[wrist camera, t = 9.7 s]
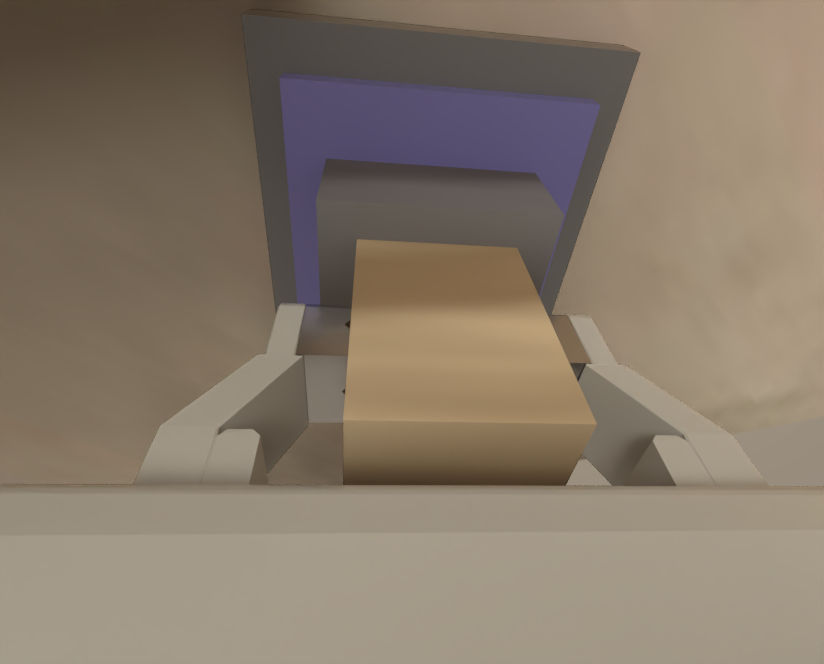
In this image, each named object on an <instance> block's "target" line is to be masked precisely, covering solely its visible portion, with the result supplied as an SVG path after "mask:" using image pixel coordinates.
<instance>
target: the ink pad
mask: <svg viewBox="0 0 824 664" xmlns="http://www.w3.org/2000/svg"><path fill="white" fill-rule="evenodd" d="M241 18H242V27H243V36H244V44H245V53H246V61H247V70H248V78H249V87H250V95H251V104H252V113H253V121H254V130H255V138H256V147H257V155H258V164H259V172H260V181H261V189H262V198H263V207H264V215H265V224H266V232H267V241H268V249H269V258H270V266H271V275H272V283H273V292H274V301H275V309H276V314H277V310H278V307H279V305H280V304H281V303H298V304H306V305H307V304H318V305H320V285H319V260H318V235H317V211H316V198H317V194H318V190H319V186H320V182H321V178H322V174H323V170H324V166H325V162H326V158H327V159H342V160H356V161H370V162H384V163H399V164H413V165H427V166H441V167H456V168H470V169H484V170H498V171H512V172H527V173H536V175H537V176H538V177H539V179H540V180H541V182H542V183H543V185H544V186H545V188H546V189H547V191H548V192H549V194H550V195H551V197H552V198H553V200H554V201H555V202H556V204H557V205H558V207H559V208H560V210H561V211H562V213H563V214H564V218H563V221H562V224H561V227H560V230H559V233H558V237H557V240H556V243H555V246H554V249H553V253H552V256H551V259H550V262H549V265H548V268H547V272H546V275H545V278H544V281H543V284H542V288H541V291H540V294H539V297H540V299H541V302H542V304H543V306H544V308H545V310H546V313H547V315H551V313H552V310H553V307H554V304H555V301H556V298H557V295H558V293H559V290H560V287H561V284H562V281H563V278H564V275H565V272H566V269H567V266H568V263H569V260H570V257H571V255H572V252H573V249H574V246H575V243H576V240H577V237H578V234H579V231H580V228H581V225H582V222H583V220H584V217H585V214H586V211H587V208H588V205H589V202H590V199H591V196H592V193H593V190H594V187H595V184H596V182H597V179H598V176H599V173H600V170H601V167H602V164H603V161H604V158H605V155H606V152H607V149H608V146H609V144H610V141H611V138H612V135H613V132H614V129H615V126H616V123H617V120H618V117H619V114H620V111H621V109H622V106H623V103H624V100H625V97H626V94H627V91H628V88H629V85H630V82H631V79H632V76H633V73H634V71H635V68H636V65H637V62H638V59H639V56H640V52H638V51H636V50H633V49H631V48H628V47H626V46H624V45H617V44H606V43H596V42H586V41H576V40H565V39H555V38H545V37H535V36H524V35H514V34H504V33H494V32H483V31H473V30H463V29H453V28H442V27H432V26H422V25H412V24H401V23H391V22H381V21H371V20H360V19H350V18H340V17H330V16H319V15H309V14H299V13H289V12H278V11H268V10H258V9H250V10H248V11H246V12H244V13H242V14H241Z"/></svg>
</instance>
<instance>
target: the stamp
mask: <svg viewBox="0 0 824 664" xmlns="http://www.w3.org/2000/svg"><path fill="white" fill-rule="evenodd" d="M316 211H317V235H318V260H319V285H320V305H334V306H350V307H352V310H351V323H350V336H349V349H348V363H347V376H346V389H345V402H344V415H343V485H539V486H566V484H567V482H568V480H569V478H570V476H571V474H572V472H573V470H574V468H575V466H576V464H577V462H578V460H579V459H580V457H581V455H582V453H583V451H584V449H585V447H586V445H587V443H588V441H589V439H590V437H591V435H592V433H593V431H594V429H595V428H596V426H597V423H596V421H595V419H594V416H593V414H592V412H591V410H590V408H589V405H588V403H587V401H586V399H585V396H584V394H583V392H582V390H581V388H580V385H579V383H578V381H577V379H576V377H575V374H574V372H573V370H572V368H571V366H570V363H569V361H568V359H567V357H566V355H565V352H564V350H563V348H562V346H561V343H560V341H559V339H558V337H557V335H556V332H555V330H554V328H553V326H552V324H551V321H550V319H549V317H548V315H547V313H546V310H545V308H544V306H543V304H542V302H541V299H540V297H539V294H540V291H541V288H542V284H543V281H544V278H545V275H546V272H547V268H548V265H549V262H550V259H551V256H552V253H553V249H554V246H555V243H556V240H557V237H558V233H559V230H560V227H561V224H562V221H563V218H564V214H563V213H562V211H561V210H560V208H559V207H558V205H557V204H556V202H555V201H554V200H553V198H552V197H551V195H550V194H549V192H548V191H547V189H546V188H545V186H544V185H543V183H542V182H541V180H540V179H539V177H538V176H537V175H536V173H527V172H512V171H498V170H484V169H470V168H456V167H441V166H427V165H413V164H399V163H384V162H370V161H356V160H342V159H327V158H326V162H325V166H324V170H323V174H322V178H321V182H320V186H319V190H318V194H317V198H316Z"/></svg>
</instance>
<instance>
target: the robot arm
mask: <svg viewBox="0 0 824 664" xmlns="http://www.w3.org/2000/svg"><path fill="white" fill-rule="evenodd" d="M351 310H352V307H350V306H334V305H318V304H307V305H306V304H298V303H281V304H280V305H279V307H278V310H277V314H276V317H275V321H274V324H273V328H272V332H271V335H270V339H269V342H268V346H267V349H266V353H265V354H258V355H256V356H255V357H253V358H252V359H251V360H249V361H248V362H247V363H245V364H244V365H242V366H241V367H240V368H238V369H237V370H236V371H234V372H233V373H231V374H230V375H229V376H227V377H226V378H225V379H223V380H222V381H221V382H219V383H218V384H216V385H215V386H214V387H212V388H211V389H210V390H208V391H207V392H206V393H204V394H203V395H201V396H200V397H199V398H197V399H196V400H195V401H193V402H192V403H190V404H189V405H188V406H186V407H185V408H184V409H182V410H181V411H180V412H178V413H177V414H175V415H174V416H173V417H171V418H170V419H169V420H167V421H166V422H165V423H163V424H162V425H160V427H159V429H158V431H157V433H156V436H155V438H154V440H153V442H152V444H151V446H150V449H149V451H148V453H147V455H146V457H145V459H144V462H143V464H142V466H141V468H140V470H139V472H138V475H137V477H136V479H135V481H134V483H133V484H0V664H824V487H823V486H822V487H821V486H812V487H811V486H801V487H800V486H769V485H768V484H767V483H766V481H765V480H764V478H763V477H762V476H761V474H760V473H759V472H758V470H757V469H756V467H755V466H754V465H753V463H752V462H751V460H750V459H749V458H748V456H747V455H746V453H745V452H744V451H743V449H742V448H741V447H740V445H739V444H738V442H737V441H736V440H735V438H734V437H733V435H732V434H730V433H728V432H727V431H725V430H724V429H722V428H721V427H719V426H718V425H716V424H715V423H713V422H712V421H710V420H709V419H707V418H705V417H704V416H702V415H701V414H699V413H698V412H696V411H695V410H693V409H692V408H690V407H689V406H687V405H686V404H684V403H682V402H681V401H679V400H678V399H676V398H675V397H673V396H672V395H670V394H669V393H667V392H666V391H664V390H663V389H661V388H659V387H658V386H656V385H655V384H653V383H652V382H650V381H649V380H647V379H646V378H644V377H643V376H641V375H640V374H638V373H636V372H635V371H633V370H632V369H630V368H629V367H627V366H626V365H618V363H617V362H616V360H615V358H614V357H613V355H612V353H611V351H610V350H609V348H608V346H607V344H606V343H605V341H604V339H603V338H602V336H601V334H600V332H599V331H598V329H597V327H596V325H595V324H594V322H593V320H592V319H591V317H589V316H588V315H548V317H549V319H550V321H551V324H552V326H553V328H554V330H555V332H556V335H557V337H558V339H559V341H560V343H561V346H562V348H563V350H564V352H565V355H566V357H567V359H568V361H569V363H570V366H571V368H572V370H573V372H574V374H575V377H576V379H577V381H578V383H579V385H580V388H581V390H582V392H583V394H584V396H585V399H586V401H587V403H588V405H589V408H590V410H591V412H592V414H593V416H594V419H595V421H596V423H597V426H596V428H595V429H594V431H593V433H592V435H591V437H590V439H589V441H588V443H587V445H586V447H585V449H584V451H583V453H582V454H583V456H584V457H585V458H586V459H587V460H588V461H589V462H590V463H591V464H592V465H593V466H594V467H595V468H596V469H597V470H598V471H599V472H600V473H601V474H602V475H603V476H604V477H605V478H606V479H607V480H608V481H609V482H610V483H611V484H612V486H539V485H269V484H268V478H267V474H268V473H269V471H270V470H271V469H272V468H273V467H274V465H275V464H276V463H277V462H278V461H279V460H280V458H281V457H282V456H283V455H284V454H285V452H286V451H287V450H288V449H289V448H290V446H291V445H292V444H293V443H294V442H295V441H296V439H297V438H298V437H299V436H300V435H301V433H302V432H303V431H304V430H305V429H306V427H307V426H308V423H343V415H344V402H345V389H346V376H347V363H348V349H349V336H350V323H351Z"/></svg>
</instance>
